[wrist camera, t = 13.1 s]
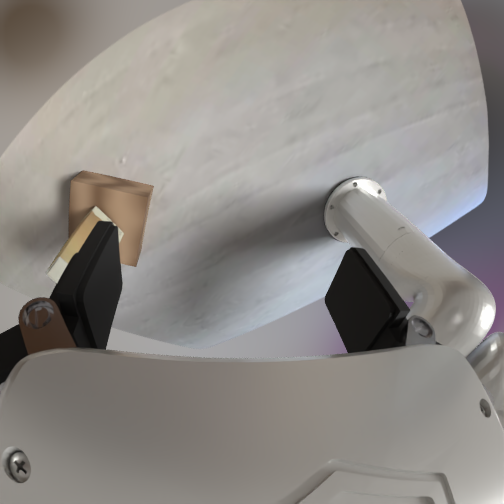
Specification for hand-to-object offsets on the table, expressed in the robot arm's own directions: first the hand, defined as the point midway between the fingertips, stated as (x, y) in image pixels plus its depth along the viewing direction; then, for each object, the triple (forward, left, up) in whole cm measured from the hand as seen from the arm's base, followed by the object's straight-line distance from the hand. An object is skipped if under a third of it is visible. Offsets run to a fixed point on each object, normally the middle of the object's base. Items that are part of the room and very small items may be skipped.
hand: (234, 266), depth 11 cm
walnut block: (+15, +14, -31) cm, 37 cm away
